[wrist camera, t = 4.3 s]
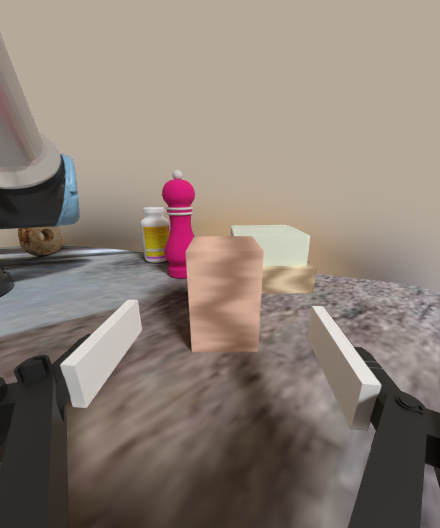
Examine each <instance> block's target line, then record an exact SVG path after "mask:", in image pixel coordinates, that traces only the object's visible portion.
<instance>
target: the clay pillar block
mask: <svg viewBox="0 0 440 528" xmlns="http://www.w3.org/2000/svg"><path fill="white" fill-rule="evenodd" d="M263 256H264V250H263V249H262V248H261V247H260V245H259V244H258V243H257V242H256V240H255V239H254V238H253V237H252V236H210V237H209V236H205V237H194V238H193V240H192V241H191V243H190V245H189V247H188V248H187V250H186V264H187V281H188V297H189V313H190V330H191V346H192V352H238V351H258V342H259V325H260V308H261V290H262V273H263Z"/></svg>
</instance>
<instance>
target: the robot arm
mask: <svg viewBox="0 0 440 528" xmlns="http://www.w3.org/2000/svg"><path fill="white" fill-rule="evenodd" d="M77 193H78V192H77V183H76V174H75V167H74V162H73V159H72V158H71V157H70V156H66V155H64V154H59V151H58V149H57V148H56V146H55V145H54V143H53V142H52V141H51V140H49V138H47V137H46V136H44V135H43V134H41V133H40V132H38V129H37V127H36V124H35V122H34V119H33V117H32V114H31V112H30V109H29V106H28V104H27V101H26V99H25V96H24V93H23V91H22V88H21V86H20V83H19V81H18V78H17V76H16V73H15V70H14V68H13V65H12V62H11V60H10V57H9V55H8V52H7V50H6V47H5V44H4V42H3V39H2V37H1V34H0V229H13V228H35V227H58V226H60V225H70V224H74V223H76V222H77V221H78V220H79V217H80V216H79V215H80V212H79V201H78V194H77ZM12 287H13V282H12V279H11V276H10V274H9V273H8V272H7V271H6V270H4V268H3V267H2V266H1V264H0V296H1V295H3V294H5V293H6V292H8V291H9V290H11V289H12ZM141 331H142V327H141V320H140V313H139V306H138V300H127V301H126V302H125V303H124V304H123V305H122V306H121V307H120V308H119V309H118V310H117V311H116V312H115V313H114V314H113V315H112V316H111V317H109V318H108V319H107V320H106V321H105V322H104V323H103V324H102V325H101V326H100V327H99V328H98V329H97V330H96V331H95V332H94V333H93V334H88V335H86V336H84V337H83V338H81V339H79V340H78V341H77V342H76V343H75V344H74V345H73V347H71V348H70V349H68V351H66V352H65V353H64V354H63V355H62V356H61V357H60V358H59V359H58V360H56V361H55V362H54V363H53V364H52V365H51V362H50V359H49V356H46V355H39V356H35V357H32V358H30V359H27V360H26V361H24V362H22V363H21V364H20V365H18V366H17V367H16V369H15V370H14V373H15V376H16V378H17V381H18V382H16V383H11V384H6V383H5V381H4V379H3V378H1V377H0V462H1V460H2V458H3V460H2V464H1V469H0V528H68V481H67V430H66V408H65V404H66V403H67V402H68V401H69V399H71V402H72V406H73V407H81V408H87V407H88V405H89V404H90V403H91V401H92V400H93V398H94V397H95V396H96V394H97V393H98V391H99V390H100V389H101V387H102V386H103V384H104V383H105V382H106V380H107V379H108V377H109V376H110V374H111V373H112V372H113V370H114V369H115V367H116V366H117V365H118V363H119V362H120V360H121V359H122V358H123V356H124V355H125V353H126V352H127V351H128V349H129V348H130V346H131V345H132V344H133V342H134V341H135V339H136V338H137V337H138V335H139V334H140V332H141ZM308 340H309V342H310V345H311V347H312V349H313V351H314V353H315V355H316V357H317V359H318V361H319V364H320V366H321V368H322V370H323V372H324V374H325V376H326V378H327V380H328V383H329V385H330V387H331V389H332V391H333V393H334V395H335V397H336V399H337V402H338V404H339V406H340V408H341V410H342V412H343V414H344V416H345V418H346V421H347V423H348V425H349V427H350V429H353V430H366V431H368V428H369V425H370V422H371V423H372V424H373V426H374V428H375V430H376V433H375V436H374V439H373V442H372V445H371V450H370V453H369V457H368V460H367V464H366V467H365V470H364V474H363V477H362V481H361V484H360V488H359V491H358V495H357V498H356V502H355V505H354V509H353V512H352V515H351V519H350V522H349V526H348V528H420V520H421V506H422V493H423V479H424V466H425V463H426V464H429V465H431V466H434V470H435V473H436V477H437V480H438V484H439V487H440V413H439V412H435V411H432V410H429V409H426V408H425V406H424V405H423V404H422V403H421V402H420V401H419V400H417V399H416V398H415V397H413V396H411V395H410V394H407V393H405V392H402V391H401V390H400V389H399V388H398V387H397V386H396V384H395V383H394V382H393V381H392V379H391V378H390V377H389V376H388V375H387V373H386V372H385V371H384V370H383V369H382V367H381V366H380V365H379V364H378V363H377V361H376V360H375V359H374V357H373V356H372V355H371V354H370V353H369V352H367V351H366V350H365V349H363V348H362V347H353V346H352V345H351V343H350V342H349V341H348V339H347V338H346V337H345V335H344V334H343V333H342V331H341V330H340V329H339V327H338V326H337V325H336V323H335V322H334V321H333V319H332V318H331V317H330V315H329V314H328V313H327V311H326V310H325V308H324V307H322V306H312V310H311V317H310V324H309V331H308Z"/></svg>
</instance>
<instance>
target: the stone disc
mask: <svg viewBox="0 0 440 528" xmlns="http://www.w3.org/2000/svg"><path fill="white" fill-rule="evenodd" d="M40 232H41V233H43V235H44V240H42V239H41V238H40ZM18 237H19V241H20V245H21V247H22V248H23V249H24V250H25V251H26V252H28V253H29V254H32V255H35V256H44V255H49V254H52V253H54V252H56V251H58V250H59V249H60V248H61V247H62V245H63V236H62V233H61V231H60V228H59V227H35V228H18Z"/></svg>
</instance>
